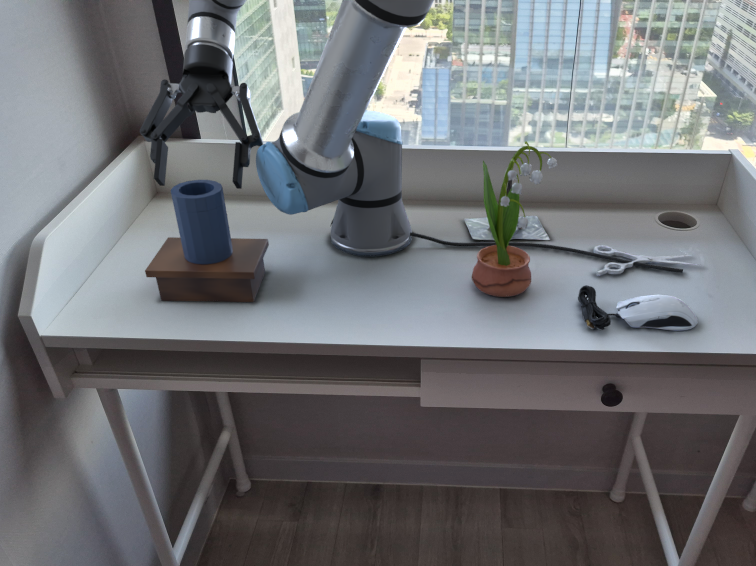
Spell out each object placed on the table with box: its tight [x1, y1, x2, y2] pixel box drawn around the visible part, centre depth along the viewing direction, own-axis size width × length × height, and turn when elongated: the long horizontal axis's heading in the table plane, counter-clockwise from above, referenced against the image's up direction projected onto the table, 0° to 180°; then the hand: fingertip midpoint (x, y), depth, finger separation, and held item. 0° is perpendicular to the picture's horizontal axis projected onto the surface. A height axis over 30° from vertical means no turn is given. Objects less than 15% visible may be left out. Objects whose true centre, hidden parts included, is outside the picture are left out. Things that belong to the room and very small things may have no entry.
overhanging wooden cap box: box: [144, 236, 270, 303], centre depth 114 cm, size 17×12×6 cm
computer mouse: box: [577, 284, 699, 332], centre depth 108 cm, size 10×18×4 cm, turn 88°
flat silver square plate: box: [463, 179, 551, 241], centre depth 131 cm, size 15×10×13 cm
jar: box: [170, 179, 233, 264], centre depth 109 cm, size 8×8×11 cm
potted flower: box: [471, 140, 559, 298], centre depth 110 cm, size 12×10×25 cm
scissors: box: [593, 245, 700, 277], centre depth 125 cm, size 11×1×20 cm
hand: (198, 183), depth 109 cm, fingers open, 11 cm apart
